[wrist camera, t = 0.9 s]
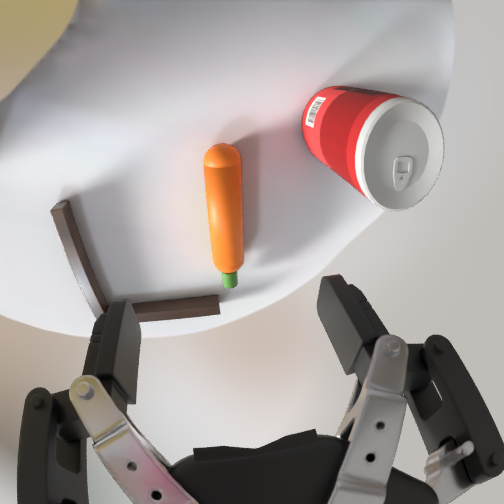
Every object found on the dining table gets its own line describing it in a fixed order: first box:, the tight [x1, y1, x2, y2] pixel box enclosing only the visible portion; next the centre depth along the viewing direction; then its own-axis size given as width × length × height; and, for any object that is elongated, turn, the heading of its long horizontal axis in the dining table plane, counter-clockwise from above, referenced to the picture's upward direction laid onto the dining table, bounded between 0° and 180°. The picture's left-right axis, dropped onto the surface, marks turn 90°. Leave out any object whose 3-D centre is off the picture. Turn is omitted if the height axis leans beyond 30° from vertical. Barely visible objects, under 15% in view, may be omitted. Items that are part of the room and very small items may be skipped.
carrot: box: [204, 143, 244, 289], centre depth 26 cm, size 15×3×3 cm, turn 0°
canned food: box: [302, 86, 444, 211], centre depth 19 cm, size 8×8×11 cm
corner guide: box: [50, 201, 220, 322], centre depth 28 cm, size 16×16×2 cm
